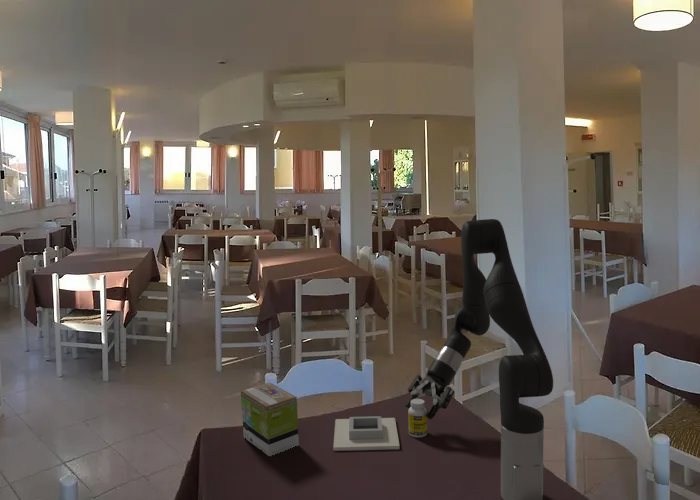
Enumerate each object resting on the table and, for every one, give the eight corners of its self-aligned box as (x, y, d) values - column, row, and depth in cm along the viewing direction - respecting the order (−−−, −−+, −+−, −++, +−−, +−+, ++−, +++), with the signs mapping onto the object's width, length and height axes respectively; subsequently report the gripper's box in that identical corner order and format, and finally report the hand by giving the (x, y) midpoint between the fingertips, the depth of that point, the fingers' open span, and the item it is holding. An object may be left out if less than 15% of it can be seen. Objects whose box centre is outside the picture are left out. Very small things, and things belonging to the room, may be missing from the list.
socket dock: (399, 449, 152) (399, 437, 152) (333, 450, 152) (333, 438, 152) (394, 420, 170) (394, 409, 170) (335, 422, 170) (335, 411, 170)
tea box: (242, 438, 161) (239, 389, 159) (272, 428, 168) (270, 381, 166) (269, 458, 150) (266, 405, 148) (300, 446, 156) (298, 395, 154)
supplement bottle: (412, 439, 158) (412, 406, 157) (405, 431, 163) (405, 399, 162) (430, 436, 159) (430, 403, 158) (422, 428, 164) (422, 396, 163)
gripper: (422, 353, 169) (394, 399, 164) (457, 365, 158) (428, 414, 153) (434, 366, 173) (407, 411, 168) (470, 378, 162) (442, 427, 156)
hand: (417, 413), depth 160 cm, fingers open, 8 cm apart
